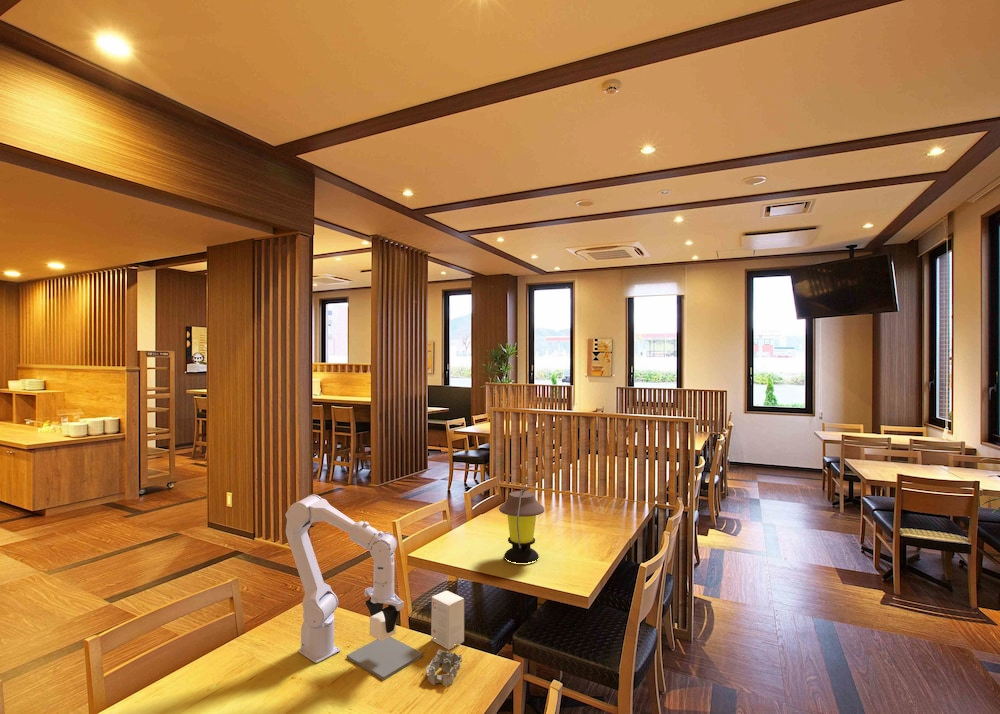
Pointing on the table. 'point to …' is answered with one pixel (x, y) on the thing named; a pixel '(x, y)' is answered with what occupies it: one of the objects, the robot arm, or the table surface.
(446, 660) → the egg carton
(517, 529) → the lantern
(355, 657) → the mat
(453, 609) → the small box
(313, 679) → the table surface
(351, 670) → the table surface
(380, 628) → the cube
